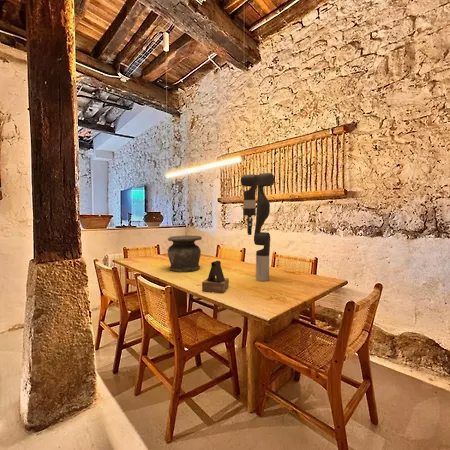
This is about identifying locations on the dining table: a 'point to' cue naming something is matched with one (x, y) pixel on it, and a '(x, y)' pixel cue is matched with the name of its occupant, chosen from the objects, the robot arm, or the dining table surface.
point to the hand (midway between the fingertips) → (249, 234)
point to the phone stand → (216, 272)
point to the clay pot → (184, 253)
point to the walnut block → (215, 286)
